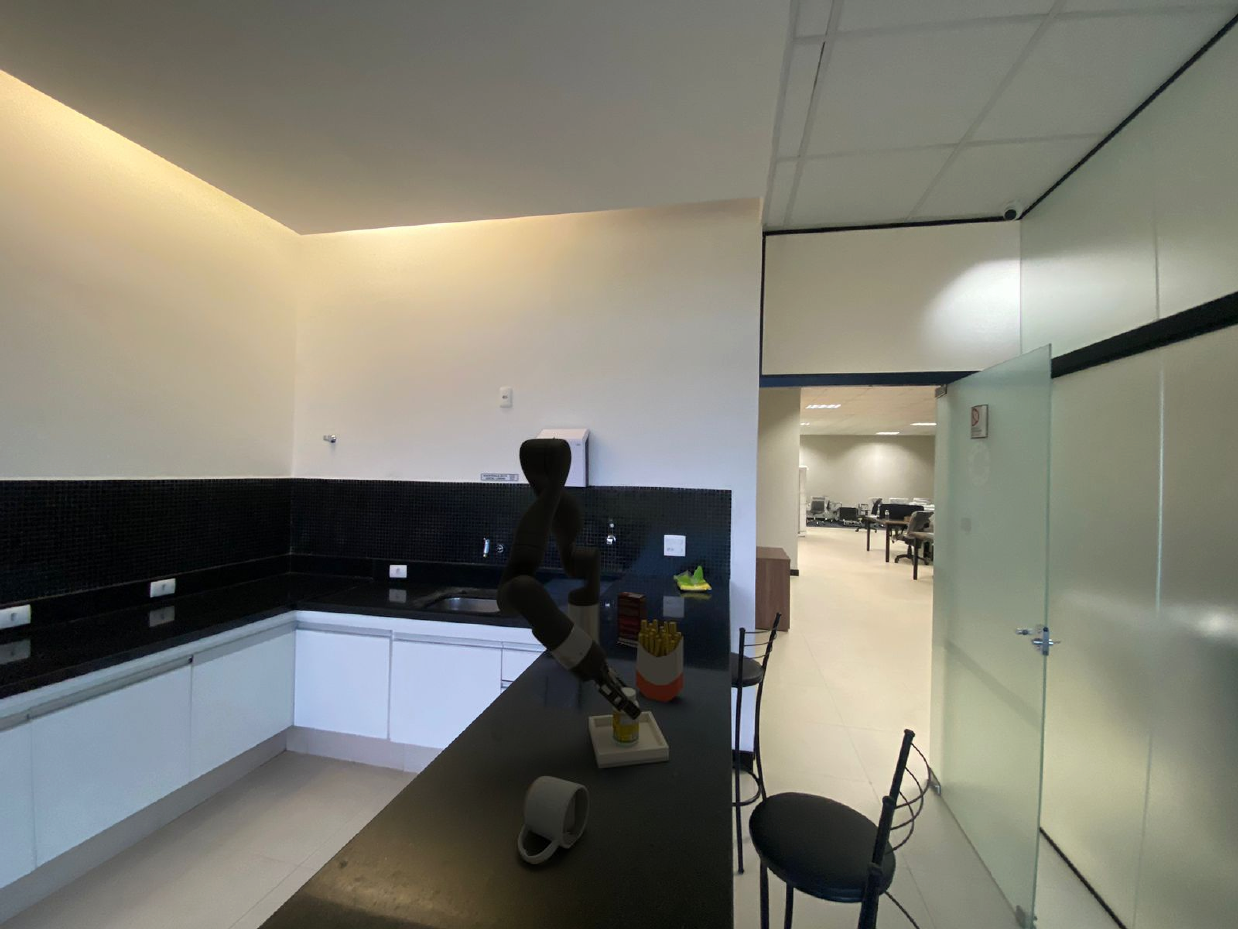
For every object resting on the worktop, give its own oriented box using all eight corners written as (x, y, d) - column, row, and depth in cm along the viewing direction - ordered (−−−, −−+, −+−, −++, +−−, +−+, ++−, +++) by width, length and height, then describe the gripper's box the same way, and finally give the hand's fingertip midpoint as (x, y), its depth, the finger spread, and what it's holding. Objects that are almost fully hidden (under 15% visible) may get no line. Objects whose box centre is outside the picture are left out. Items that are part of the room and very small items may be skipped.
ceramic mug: (547, 807, 76) (547, 760, 76) (590, 825, 72) (590, 775, 72) (503, 856, 66) (503, 802, 66) (550, 879, 63) (550, 822, 63)
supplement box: (647, 644, 148) (647, 594, 148) (639, 649, 144) (640, 598, 144) (624, 639, 153) (624, 591, 153) (616, 643, 149) (616, 594, 149)
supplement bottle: (639, 747, 91) (639, 698, 91) (612, 747, 91) (612, 698, 91) (638, 732, 97) (638, 686, 97) (612, 731, 97) (613, 685, 97)
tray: (589, 728, 99) (589, 717, 99) (650, 722, 102) (650, 711, 102) (598, 768, 86) (598, 755, 86) (668, 760, 88) (668, 747, 89)
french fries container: (677, 705, 109) (677, 629, 110) (635, 696, 114) (635, 622, 114) (683, 697, 114) (683, 623, 114) (641, 688, 118) (642, 617, 118)
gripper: (596, 651, 86) (655, 708, 88) (586, 626, 100) (637, 675, 102) (567, 682, 85) (627, 739, 87) (561, 652, 99) (613, 702, 101)
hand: (633, 704), depth 94 cm, fingers open, 8 cm apart
